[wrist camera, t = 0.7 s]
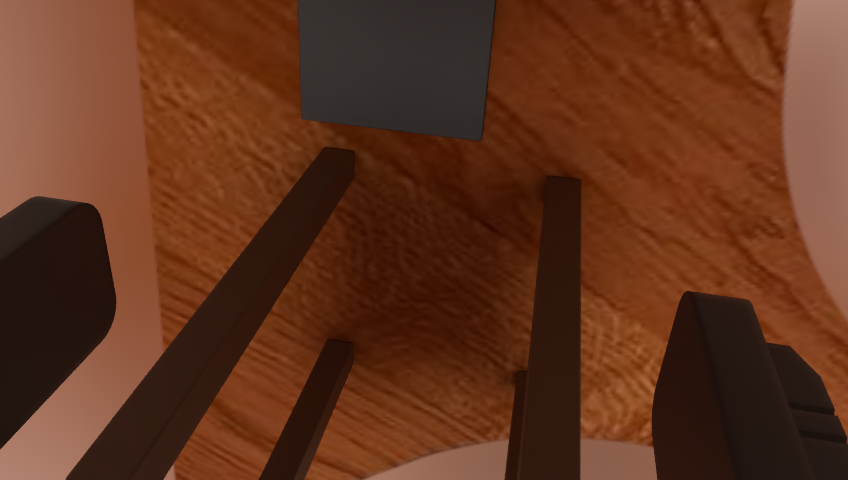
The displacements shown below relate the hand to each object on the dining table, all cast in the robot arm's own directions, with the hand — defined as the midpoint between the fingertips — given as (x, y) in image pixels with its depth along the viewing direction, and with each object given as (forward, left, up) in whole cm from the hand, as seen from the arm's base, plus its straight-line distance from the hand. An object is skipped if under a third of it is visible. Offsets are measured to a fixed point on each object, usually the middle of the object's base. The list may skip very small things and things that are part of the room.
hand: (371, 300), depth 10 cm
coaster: (+3, -5, -25) cm, 26 cm away
